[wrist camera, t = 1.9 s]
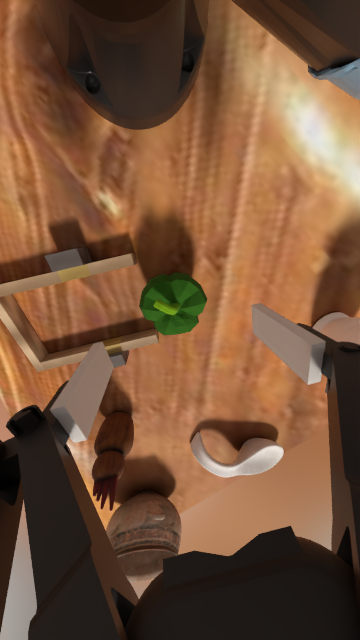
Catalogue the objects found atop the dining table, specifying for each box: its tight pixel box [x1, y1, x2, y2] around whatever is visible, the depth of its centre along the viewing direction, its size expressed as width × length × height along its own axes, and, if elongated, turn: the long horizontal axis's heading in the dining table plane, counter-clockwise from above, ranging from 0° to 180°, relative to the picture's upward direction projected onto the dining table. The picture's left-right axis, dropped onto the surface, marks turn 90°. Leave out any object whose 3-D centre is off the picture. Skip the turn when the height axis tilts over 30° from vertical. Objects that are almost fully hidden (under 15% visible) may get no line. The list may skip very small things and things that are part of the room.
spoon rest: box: [191, 432, 283, 477], centre depth 43 cm, size 24×12×7 cm, turn 71°
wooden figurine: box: [92, 412, 134, 511], centre depth 32 cm, size 7×6×15 cm
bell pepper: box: [139, 272, 207, 335], centre depth 24 cm, size 8×8×10 cm
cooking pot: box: [106, 491, 181, 581], centre depth 46 cm, size 25×19×12 cm
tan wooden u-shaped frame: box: [0, 248, 159, 372], centre depth 27 cm, size 18×20×4 cm
